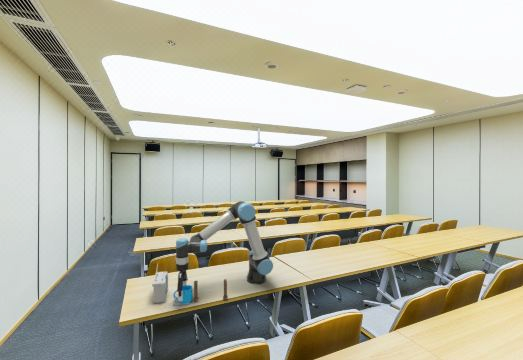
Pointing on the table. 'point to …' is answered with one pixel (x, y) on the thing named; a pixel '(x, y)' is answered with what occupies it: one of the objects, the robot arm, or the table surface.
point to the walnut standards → (197, 291)
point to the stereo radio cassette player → (160, 286)
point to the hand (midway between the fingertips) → (182, 295)
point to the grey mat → (177, 303)
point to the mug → (186, 294)
